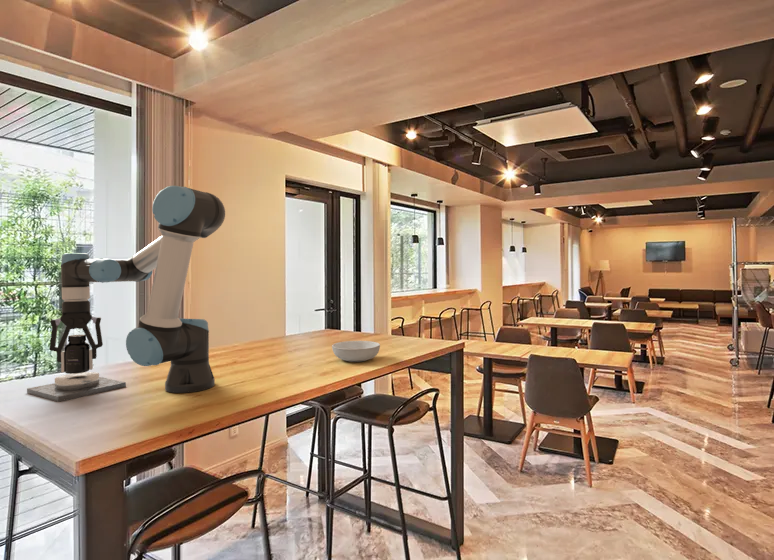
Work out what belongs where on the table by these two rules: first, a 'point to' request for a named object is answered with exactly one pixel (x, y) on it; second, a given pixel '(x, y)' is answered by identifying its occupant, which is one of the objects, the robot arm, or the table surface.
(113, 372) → the table surface
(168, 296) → the robot arm
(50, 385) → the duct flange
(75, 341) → the supplement bottle
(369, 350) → the serving bowl
